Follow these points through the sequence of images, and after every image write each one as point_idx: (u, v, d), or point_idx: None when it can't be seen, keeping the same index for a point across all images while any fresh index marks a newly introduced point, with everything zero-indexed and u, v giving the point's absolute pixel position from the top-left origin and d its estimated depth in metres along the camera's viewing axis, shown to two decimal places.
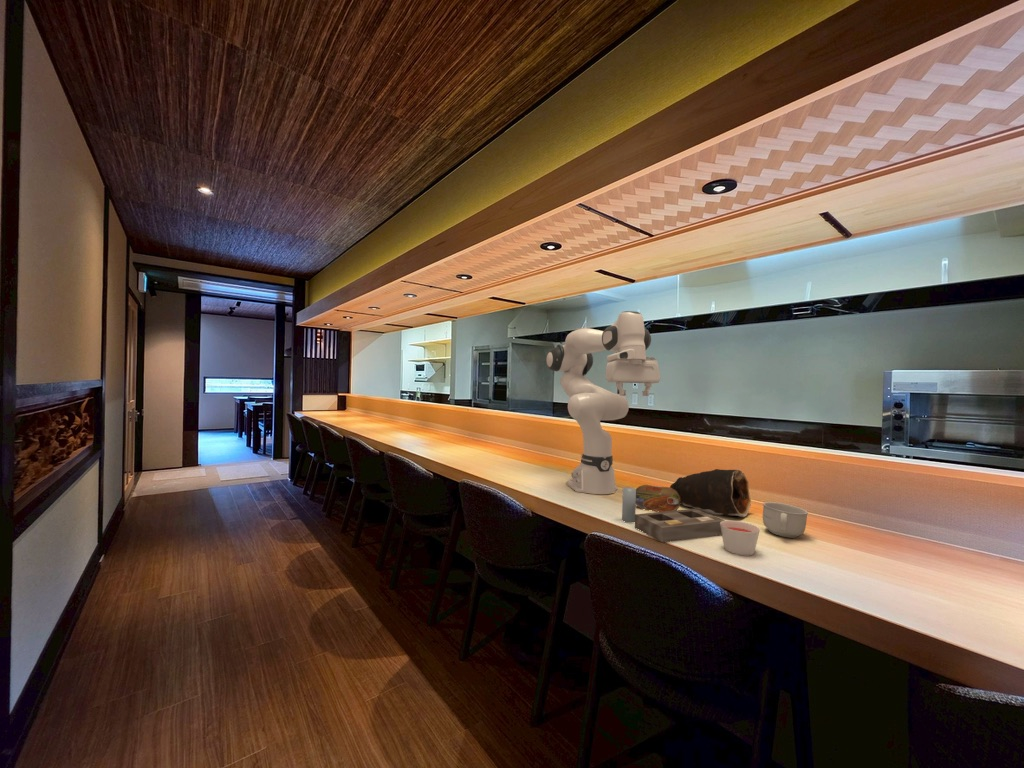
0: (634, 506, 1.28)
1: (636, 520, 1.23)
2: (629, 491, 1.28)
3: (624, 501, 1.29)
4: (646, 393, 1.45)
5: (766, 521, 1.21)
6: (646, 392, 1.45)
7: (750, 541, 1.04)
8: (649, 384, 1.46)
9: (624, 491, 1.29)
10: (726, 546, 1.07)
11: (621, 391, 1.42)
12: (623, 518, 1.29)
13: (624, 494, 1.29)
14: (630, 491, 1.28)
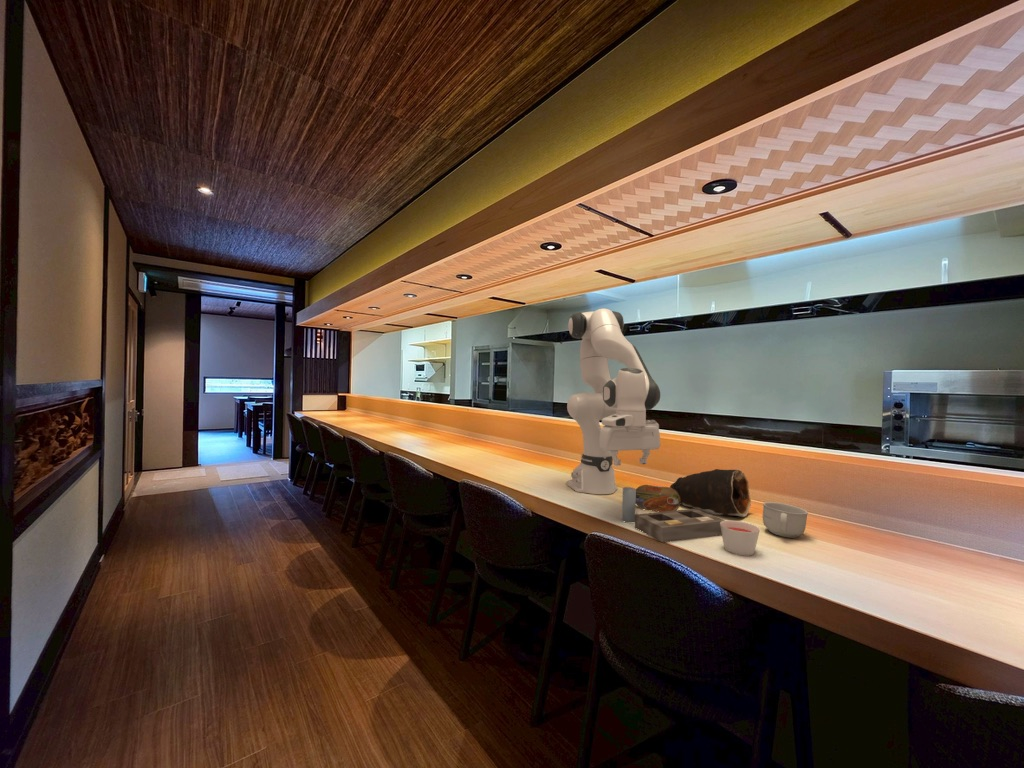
0: (634, 506, 1.28)
1: (636, 520, 1.23)
2: (629, 491, 1.28)
3: (624, 501, 1.29)
4: (643, 461, 1.30)
5: (766, 521, 1.21)
6: (643, 460, 1.30)
7: (750, 541, 1.04)
8: (647, 451, 1.30)
9: (624, 491, 1.29)
10: (726, 546, 1.07)
11: (615, 460, 1.27)
12: (623, 518, 1.29)
13: (624, 494, 1.29)
14: (630, 491, 1.28)
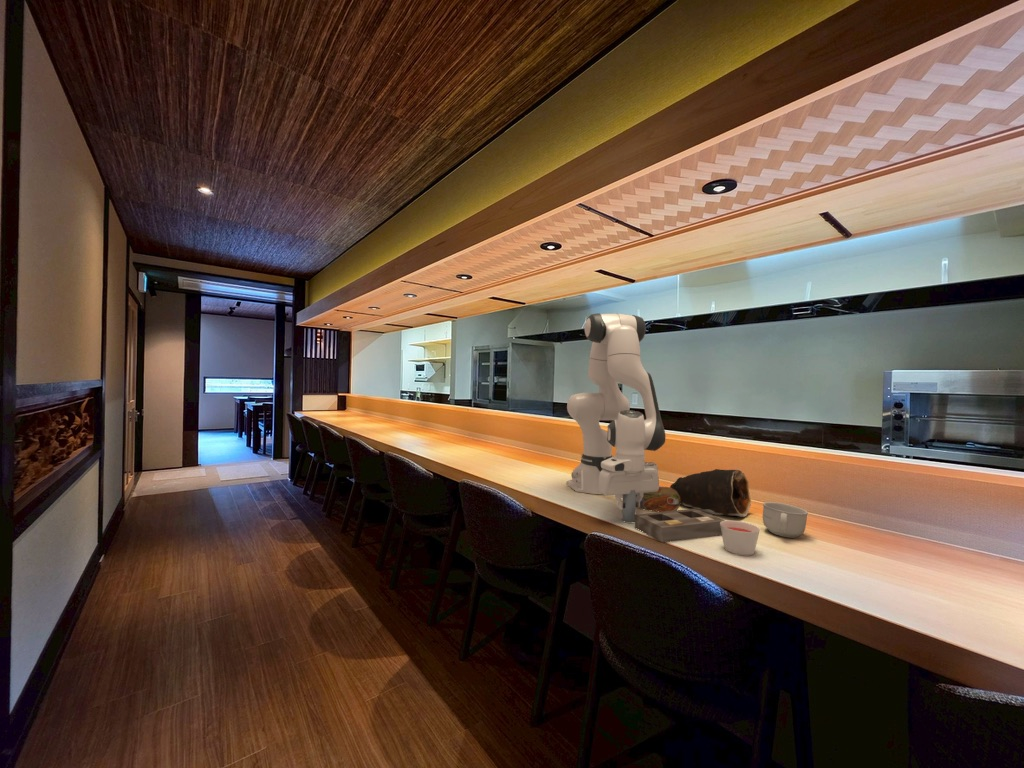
0: (634, 506, 1.28)
1: (636, 520, 1.23)
2: None
3: (624, 501, 1.29)
4: (637, 505, 1.30)
5: (766, 521, 1.21)
6: (637, 504, 1.30)
7: (750, 541, 1.04)
8: (641, 495, 1.30)
9: None
10: (726, 546, 1.07)
11: (620, 504, 1.28)
12: (623, 518, 1.29)
13: (624, 494, 1.29)
14: None
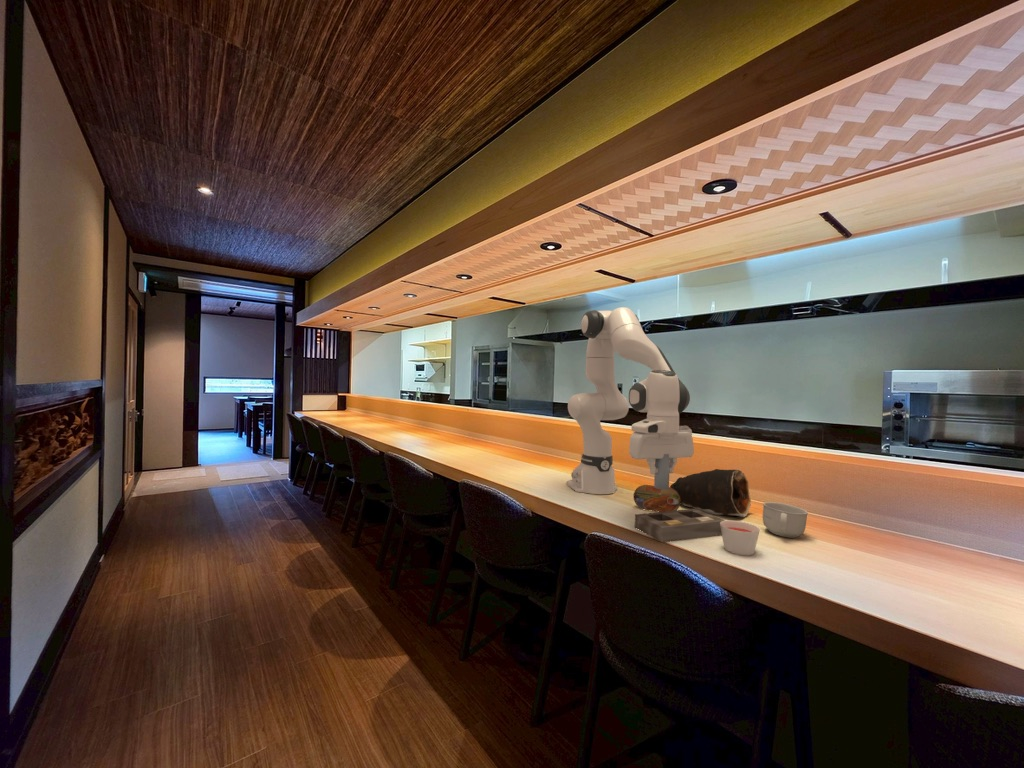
0: (668, 471, 1.19)
1: (636, 520, 1.23)
2: None
3: (657, 466, 1.20)
4: (670, 471, 1.21)
5: (766, 521, 1.21)
6: (670, 469, 1.21)
7: (750, 541, 1.04)
8: (674, 460, 1.21)
9: None
10: (726, 546, 1.07)
11: (652, 469, 1.19)
12: (656, 484, 1.20)
13: (657, 459, 1.20)
14: (664, 455, 1.19)
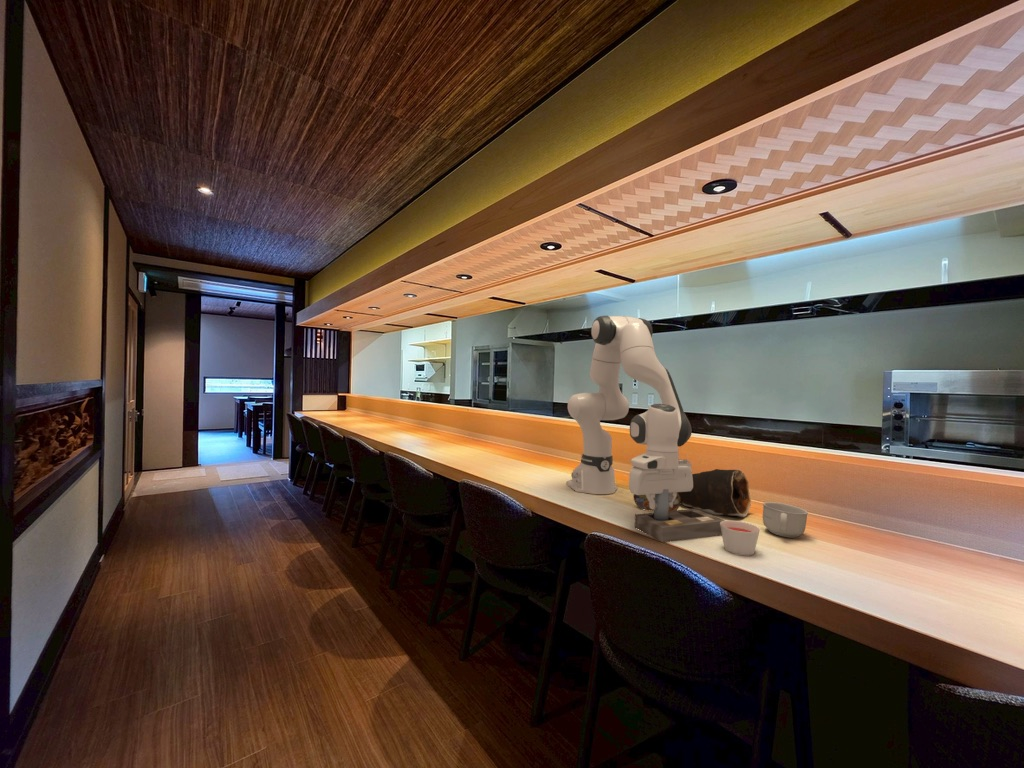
0: (667, 506, 1.19)
1: (636, 520, 1.23)
2: None
3: (656, 501, 1.20)
4: (669, 505, 1.21)
5: (766, 521, 1.21)
6: (670, 504, 1.21)
7: (750, 541, 1.04)
8: (674, 494, 1.21)
9: None
10: (726, 546, 1.07)
11: (652, 504, 1.19)
12: None
13: None
14: (663, 490, 1.19)
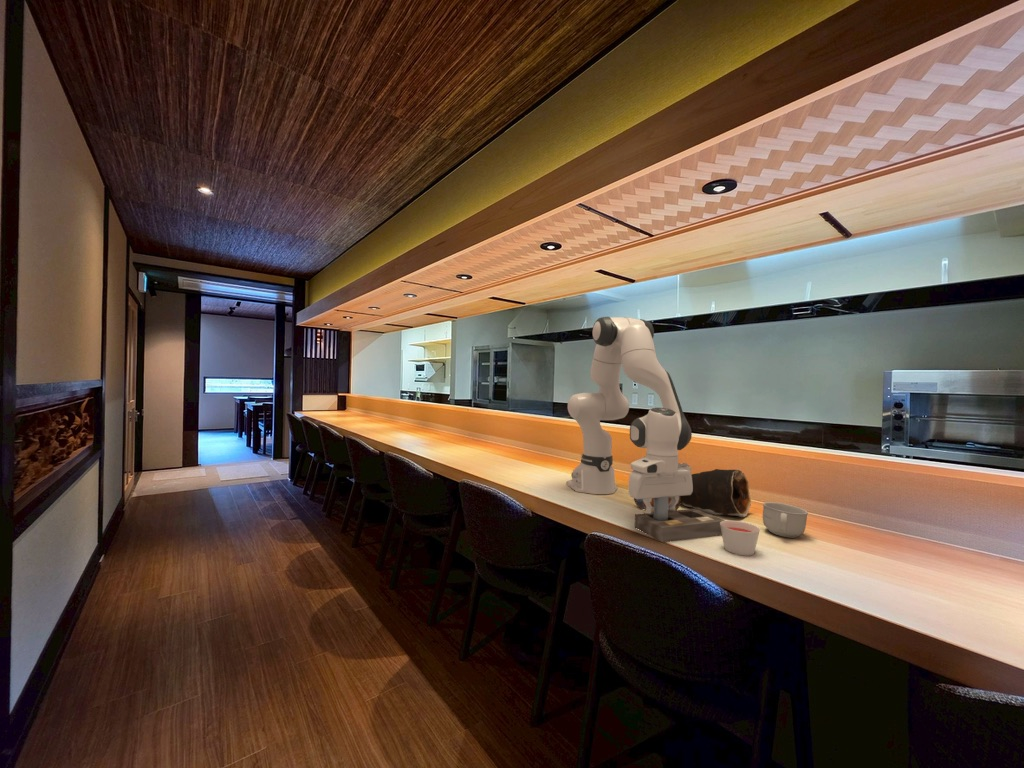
0: (667, 514, 1.19)
1: (636, 520, 1.23)
2: (661, 498, 1.19)
3: (656, 509, 1.20)
4: (672, 509, 1.21)
5: (766, 521, 1.21)
6: (672, 507, 1.21)
7: (750, 541, 1.04)
8: (676, 498, 1.21)
9: (656, 498, 1.20)
10: (726, 546, 1.07)
11: (649, 508, 1.19)
12: None
13: (656, 501, 1.20)
14: (662, 498, 1.19)
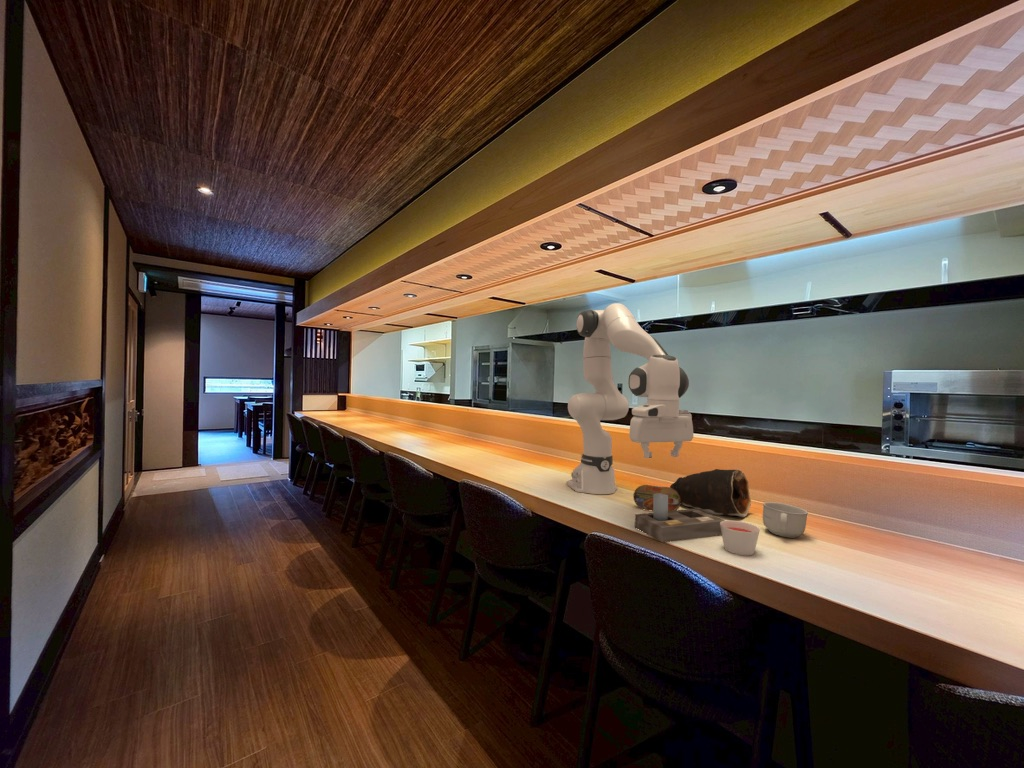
0: (666, 514, 1.19)
1: (636, 520, 1.23)
2: (661, 498, 1.19)
3: (655, 509, 1.20)
4: (675, 454, 1.23)
5: (766, 521, 1.21)
6: (675, 453, 1.23)
7: (750, 541, 1.04)
8: (680, 443, 1.23)
9: (655, 498, 1.20)
10: (726, 546, 1.07)
11: (646, 453, 1.20)
12: None
13: (655, 501, 1.20)
14: (662, 498, 1.19)
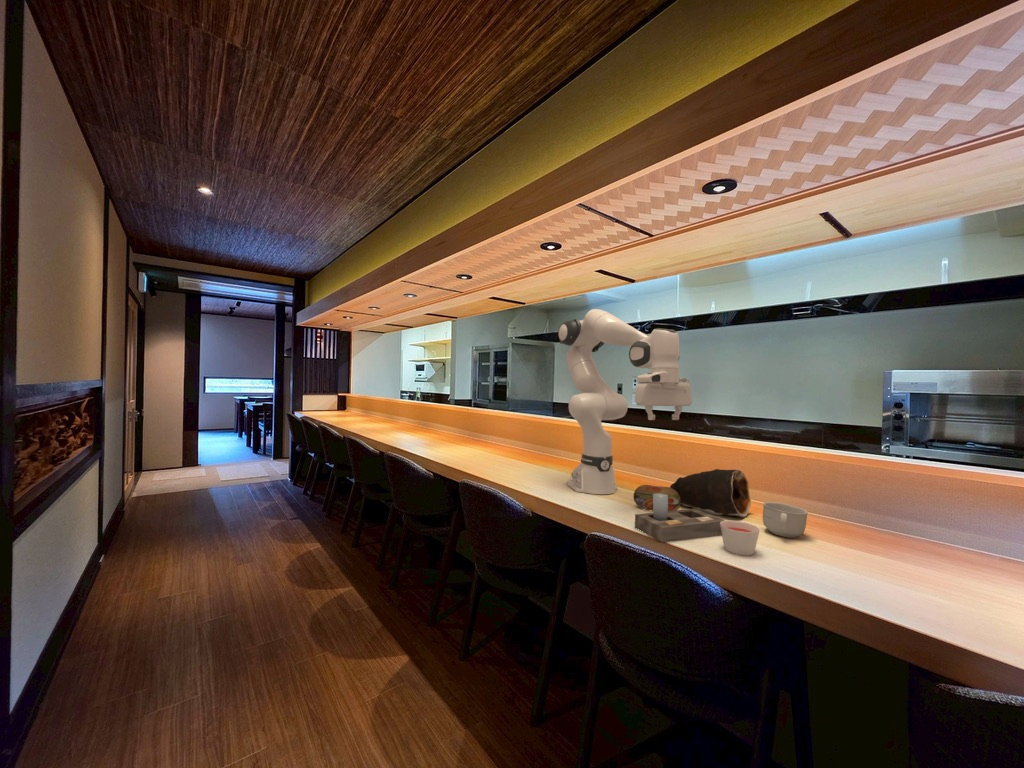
0: (666, 514, 1.19)
1: (636, 520, 1.23)
2: (661, 498, 1.19)
3: (655, 508, 1.20)
4: (676, 417, 1.37)
5: (766, 521, 1.21)
6: (676, 416, 1.37)
7: (750, 541, 1.04)
8: (680, 408, 1.37)
9: (655, 498, 1.20)
10: (726, 546, 1.07)
11: (650, 415, 1.34)
12: None
13: (655, 501, 1.20)
14: (662, 498, 1.19)
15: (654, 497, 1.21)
